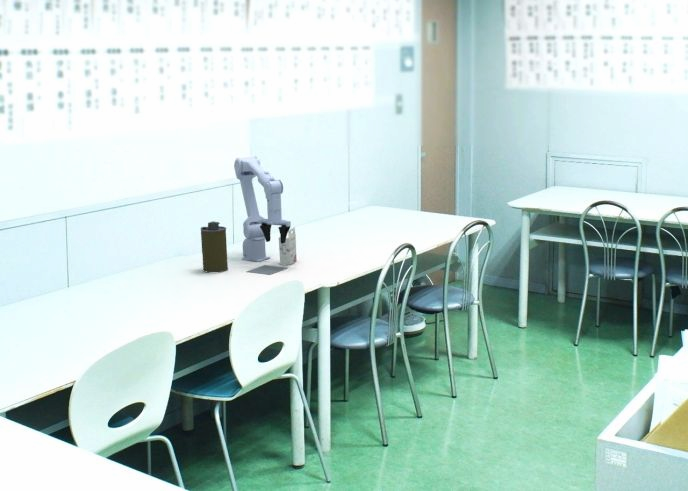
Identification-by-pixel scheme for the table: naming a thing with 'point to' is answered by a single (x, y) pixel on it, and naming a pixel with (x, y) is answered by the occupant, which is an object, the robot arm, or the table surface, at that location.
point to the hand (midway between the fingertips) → (275, 242)
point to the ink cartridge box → (288, 249)
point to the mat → (267, 270)
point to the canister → (214, 247)
